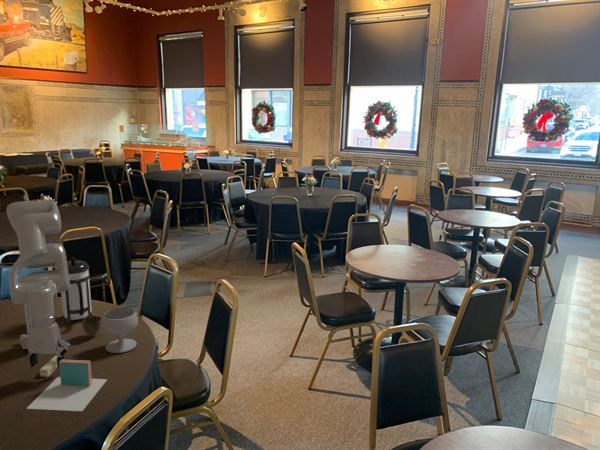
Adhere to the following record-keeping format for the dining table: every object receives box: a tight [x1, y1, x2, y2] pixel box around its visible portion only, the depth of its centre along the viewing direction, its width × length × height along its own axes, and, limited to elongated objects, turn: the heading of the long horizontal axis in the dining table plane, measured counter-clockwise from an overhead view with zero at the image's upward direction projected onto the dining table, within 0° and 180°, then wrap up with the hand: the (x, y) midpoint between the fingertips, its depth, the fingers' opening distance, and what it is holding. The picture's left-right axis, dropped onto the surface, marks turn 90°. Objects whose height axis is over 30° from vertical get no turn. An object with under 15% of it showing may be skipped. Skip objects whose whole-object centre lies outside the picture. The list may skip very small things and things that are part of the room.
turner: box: [39, 355, 58, 378], centre depth 160 cm, size 17×5×4 cm, turn 179°
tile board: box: [25, 376, 108, 412], centre depth 150 cm, size 18×18×2 cm
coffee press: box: [60, 256, 93, 325], centre depth 205 cm, size 17×16×30 cm
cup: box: [81, 315, 102, 338], centre depth 192 cm, size 8×7×8 cm
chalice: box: [100, 307, 139, 354], centre depth 183 cm, size 14×14×15 cm
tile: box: [59, 358, 93, 387], centre depth 154 cm, size 10×2×9 cm, turn 89°
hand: (47, 365), depth 160 cm, fingers open, 9 cm apart
